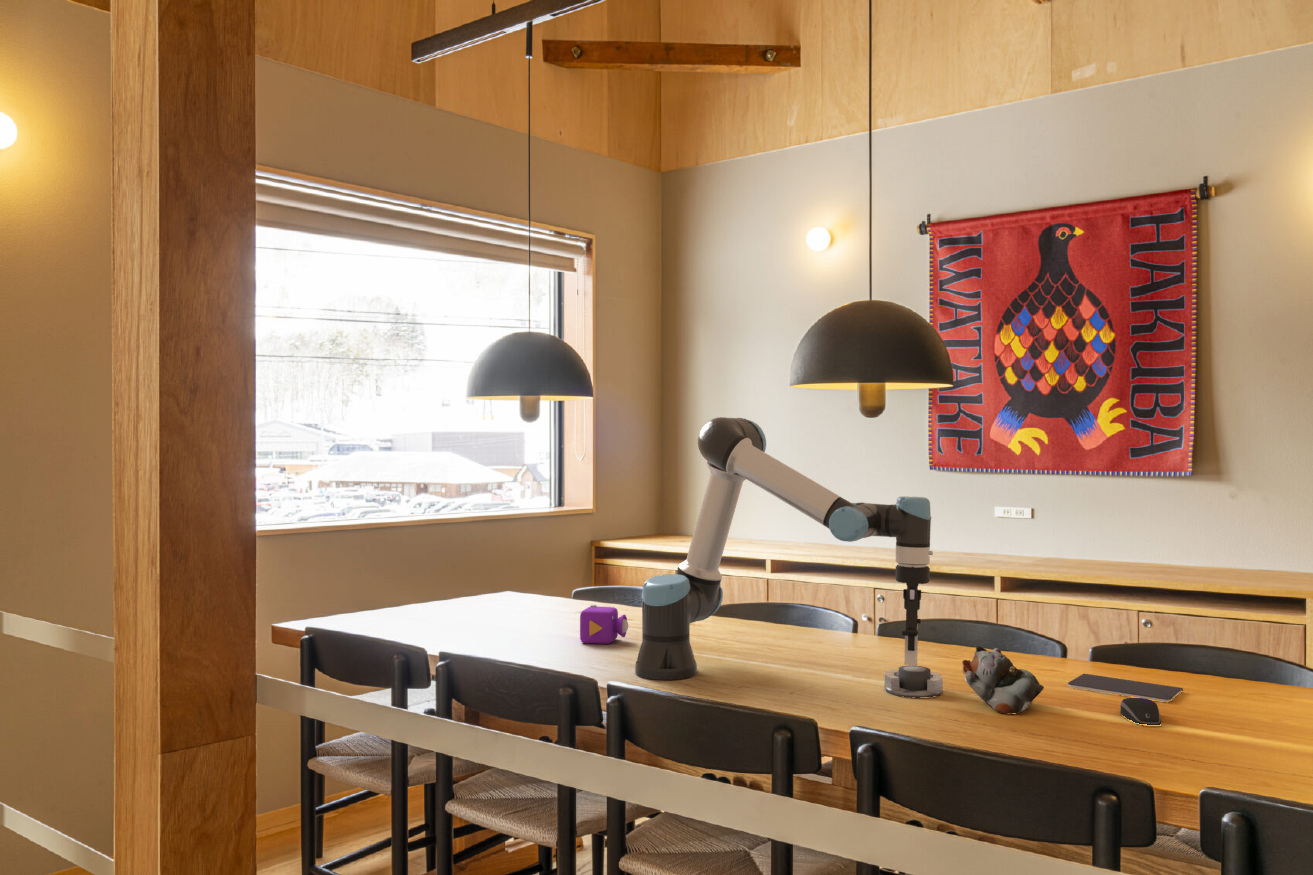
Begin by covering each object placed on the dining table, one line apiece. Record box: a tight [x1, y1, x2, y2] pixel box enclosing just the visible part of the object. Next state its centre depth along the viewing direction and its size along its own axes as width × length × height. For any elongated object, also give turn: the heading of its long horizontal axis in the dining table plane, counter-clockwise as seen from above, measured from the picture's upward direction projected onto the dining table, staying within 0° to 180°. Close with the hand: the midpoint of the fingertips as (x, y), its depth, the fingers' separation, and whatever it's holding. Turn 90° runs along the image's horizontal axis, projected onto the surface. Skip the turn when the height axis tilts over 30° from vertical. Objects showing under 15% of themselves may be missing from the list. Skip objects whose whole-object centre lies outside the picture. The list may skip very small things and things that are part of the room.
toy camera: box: [579, 604, 629, 645], centre depth 271 cm, size 11×14×10 cm
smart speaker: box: [898, 665, 931, 691], centre depth 214 cm, size 7×7×4 cm
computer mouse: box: [1119, 697, 1162, 725], centre depth 193 cm, size 7×12×4 cm, turn 167°
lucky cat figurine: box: [962, 646, 1044, 714], centre depth 202 cm, size 15×12×14 cm
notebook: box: [1067, 673, 1184, 702], centre depth 215 cm, size 13×2×21 cm
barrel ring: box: [884, 669, 943, 699], centre depth 215 cm, size 13×13×4 cm
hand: (911, 658), depth 215 cm, fingers open, 13 cm apart
